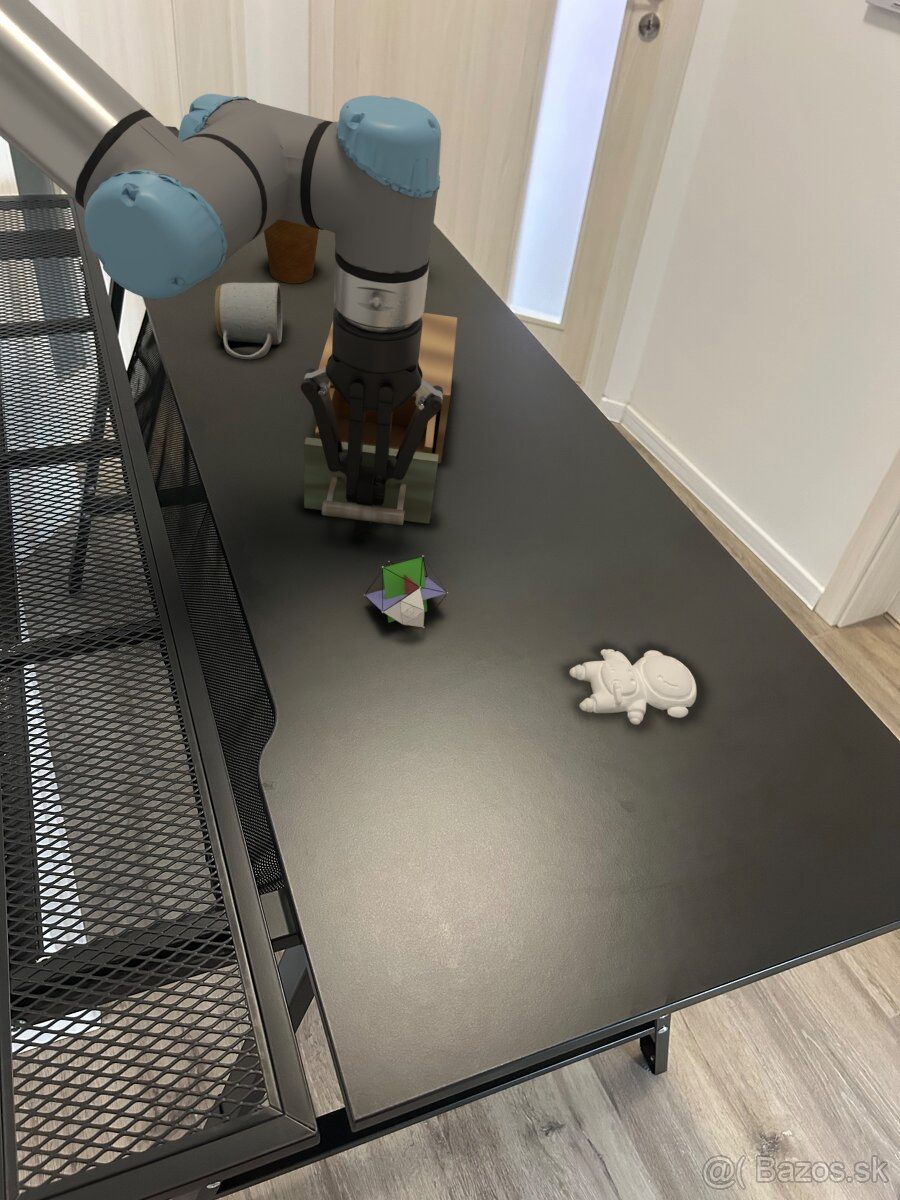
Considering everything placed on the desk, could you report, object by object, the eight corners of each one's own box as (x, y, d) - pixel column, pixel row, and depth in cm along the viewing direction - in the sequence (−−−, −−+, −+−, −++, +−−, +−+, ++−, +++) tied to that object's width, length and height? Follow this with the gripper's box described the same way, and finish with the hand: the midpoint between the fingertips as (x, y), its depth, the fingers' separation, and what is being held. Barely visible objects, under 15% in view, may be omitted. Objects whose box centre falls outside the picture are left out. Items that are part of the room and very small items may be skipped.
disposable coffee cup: (247, 266, 128) (243, 184, 120) (301, 255, 133) (300, 174, 125) (281, 294, 124) (280, 210, 115) (336, 280, 129) (338, 199, 120)
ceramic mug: (222, 322, 116) (218, 268, 111) (283, 326, 117) (282, 273, 112) (213, 364, 109) (208, 309, 103) (278, 368, 110) (277, 314, 105)
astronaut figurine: (562, 654, 82) (569, 633, 79) (681, 657, 83) (691, 636, 81) (578, 729, 76) (586, 709, 73) (706, 731, 77) (718, 711, 75)
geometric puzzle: (349, 574, 82) (373, 558, 75) (412, 556, 85) (442, 540, 78) (371, 644, 82) (397, 635, 75) (434, 625, 85) (465, 615, 78)
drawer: (425, 560, 87) (434, 497, 81) (294, 544, 86) (293, 479, 80) (438, 435, 103) (446, 374, 97) (327, 420, 102) (328, 358, 96)
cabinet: (439, 469, 99) (450, 395, 92) (314, 453, 99) (315, 376, 91) (447, 388, 112) (457, 317, 104) (336, 373, 111) (338, 300, 104)
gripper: (292, 322, 68) (294, 540, 85) (453, 345, 69) (423, 557, 86) (308, 280, 73) (306, 493, 90) (457, 301, 74) (428, 509, 91)
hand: (363, 524), depth 88 cm, fingers closed
